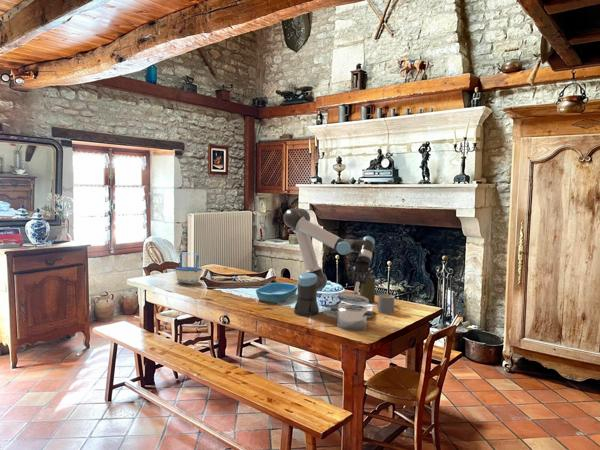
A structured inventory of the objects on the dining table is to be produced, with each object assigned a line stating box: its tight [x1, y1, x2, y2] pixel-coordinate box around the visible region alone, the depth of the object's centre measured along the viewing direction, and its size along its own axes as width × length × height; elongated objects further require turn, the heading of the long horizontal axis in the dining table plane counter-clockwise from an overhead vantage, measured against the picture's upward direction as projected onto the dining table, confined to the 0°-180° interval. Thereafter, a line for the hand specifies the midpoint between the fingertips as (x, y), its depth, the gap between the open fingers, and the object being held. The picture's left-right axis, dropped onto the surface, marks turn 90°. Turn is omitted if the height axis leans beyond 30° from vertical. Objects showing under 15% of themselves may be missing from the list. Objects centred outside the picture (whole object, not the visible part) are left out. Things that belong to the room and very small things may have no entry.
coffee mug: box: [377, 293, 395, 315], centre depth 265 cm, size 13×10×10 cm
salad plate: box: [335, 303, 374, 319], centre depth 256 cm, size 21×21×3 cm
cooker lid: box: [337, 292, 370, 306], centre depth 232 cm, size 17×18×4 cm
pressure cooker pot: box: [330, 304, 375, 332], centre depth 231 cm, size 23×16×10 cm
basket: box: [174, 251, 203, 285], centre depth 330 cm, size 21×16×24 cm
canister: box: [359, 271, 377, 304], centre depth 288 cm, size 11×10×20 cm
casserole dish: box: [255, 282, 298, 303], centre depth 292 cm, size 37×22×7 cm, turn 158°
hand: (356, 292), depth 232 cm, fingers closed, pressing on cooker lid
